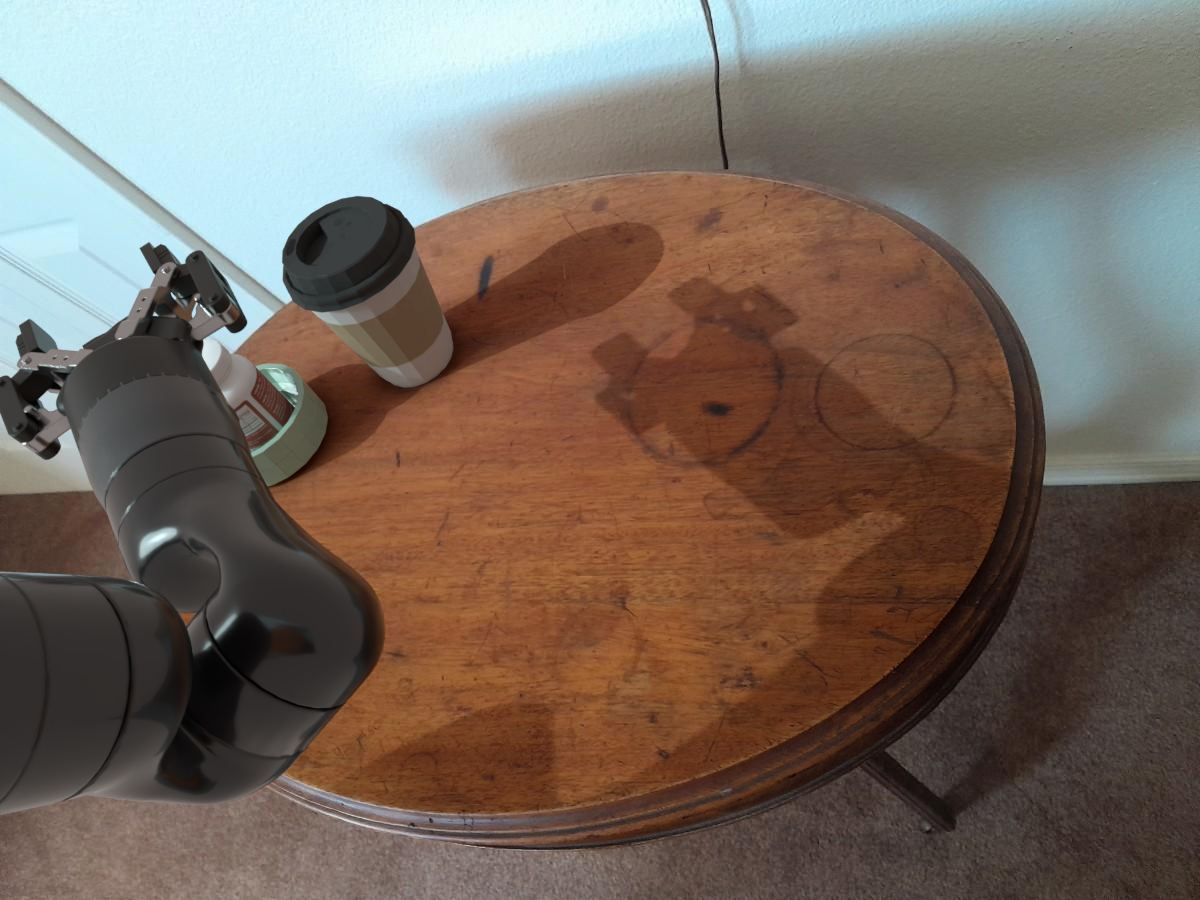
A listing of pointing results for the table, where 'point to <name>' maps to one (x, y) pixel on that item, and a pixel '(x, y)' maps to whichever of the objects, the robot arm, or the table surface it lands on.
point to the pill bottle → (248, 394)
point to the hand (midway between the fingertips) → (95, 292)
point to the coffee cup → (369, 287)
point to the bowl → (291, 426)
